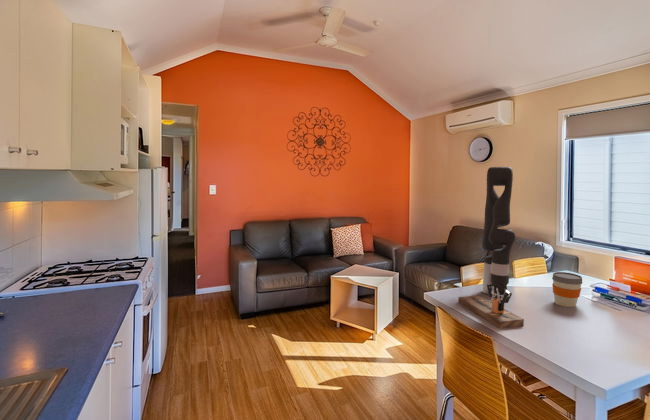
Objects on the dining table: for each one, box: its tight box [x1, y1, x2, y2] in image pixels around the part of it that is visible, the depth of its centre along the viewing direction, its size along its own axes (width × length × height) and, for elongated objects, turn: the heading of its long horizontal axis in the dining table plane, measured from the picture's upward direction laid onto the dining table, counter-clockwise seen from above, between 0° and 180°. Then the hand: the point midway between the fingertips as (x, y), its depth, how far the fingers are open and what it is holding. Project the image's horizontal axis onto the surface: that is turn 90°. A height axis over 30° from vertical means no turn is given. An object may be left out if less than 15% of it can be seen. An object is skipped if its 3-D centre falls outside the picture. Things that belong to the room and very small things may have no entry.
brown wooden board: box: [457, 294, 525, 329], centre depth 161 cm, size 12×30×3 cm, turn 12°
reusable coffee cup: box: [551, 271, 583, 308], centre depth 172 cm, size 13×13×15 cm
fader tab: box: [491, 297, 504, 313], centre depth 154 cm, size 4×3×6 cm
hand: (497, 308), depth 155 cm, fingers closed on fader tab, 3 cm apart
